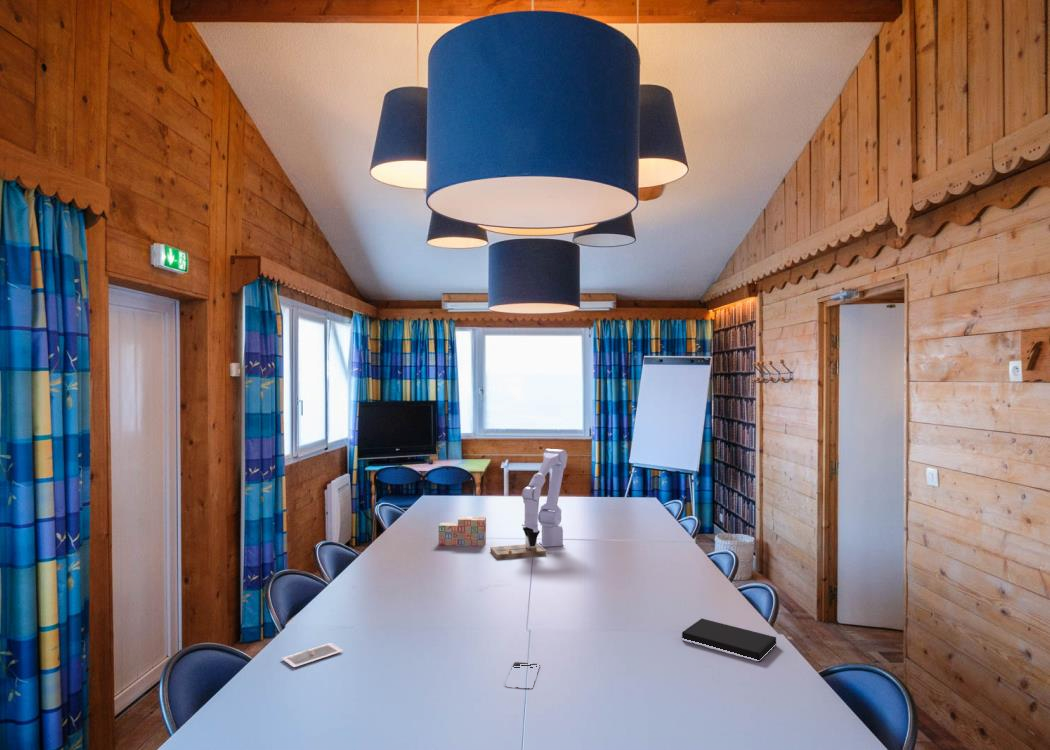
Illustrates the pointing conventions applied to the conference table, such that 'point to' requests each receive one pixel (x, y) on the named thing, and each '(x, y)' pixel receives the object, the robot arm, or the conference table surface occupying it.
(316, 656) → the touchpad
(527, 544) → the fader tab
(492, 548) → the fader console
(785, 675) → the conference table surface
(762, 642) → the external hard drive
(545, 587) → the conference table surface
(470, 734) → the conference table surface
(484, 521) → the stack of blocks
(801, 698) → the conference table surface
